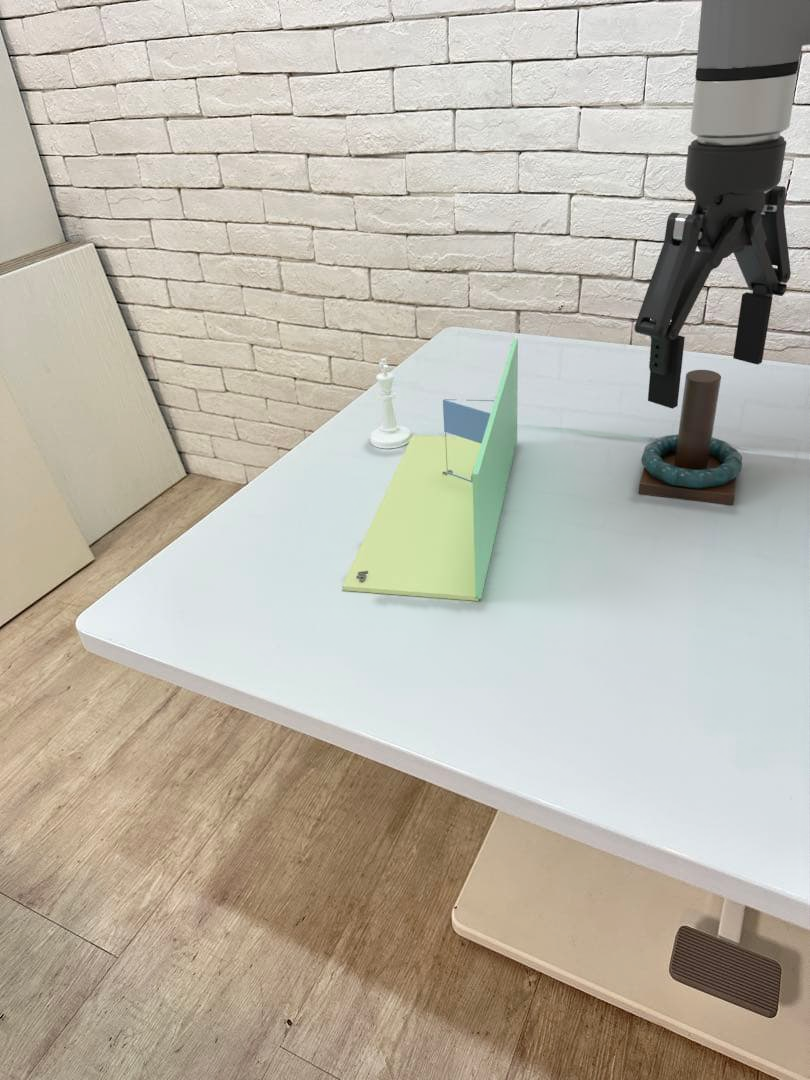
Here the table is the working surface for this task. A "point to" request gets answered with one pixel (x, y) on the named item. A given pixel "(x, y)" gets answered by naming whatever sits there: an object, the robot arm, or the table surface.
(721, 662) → the table surface
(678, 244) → the robot arm
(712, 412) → the stand
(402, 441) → the chess piece
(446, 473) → the display stand
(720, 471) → the ring
